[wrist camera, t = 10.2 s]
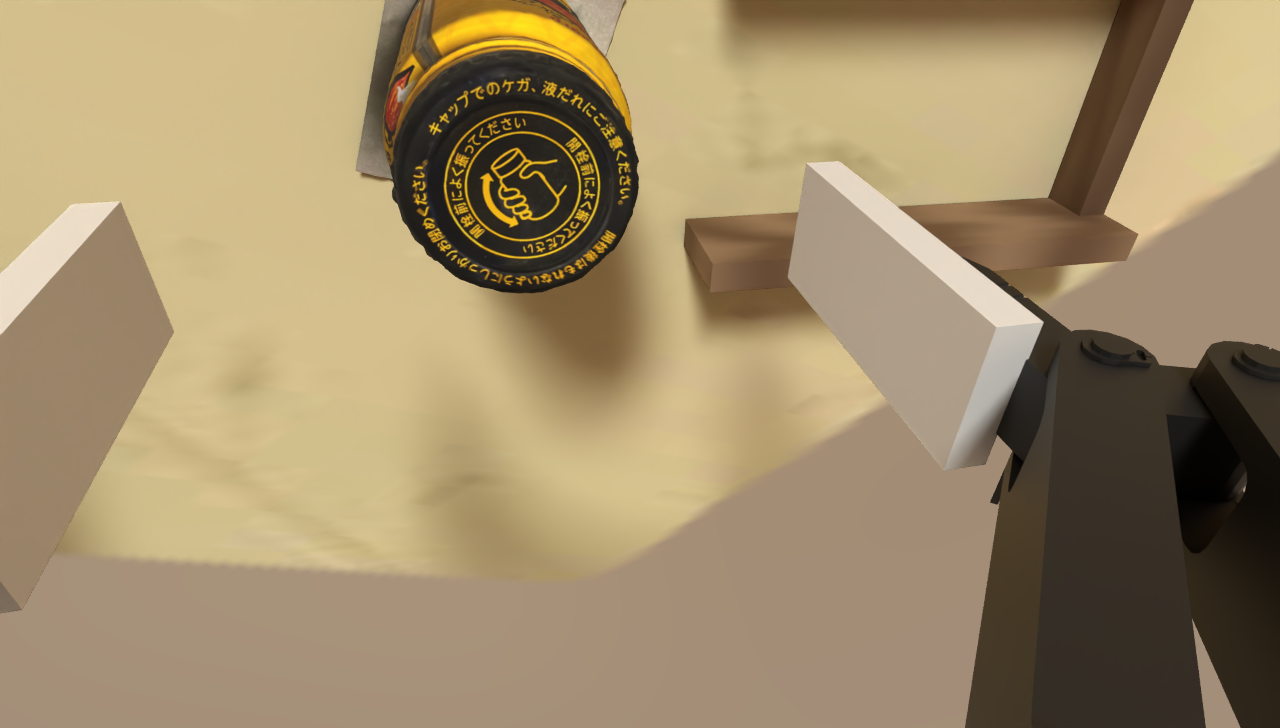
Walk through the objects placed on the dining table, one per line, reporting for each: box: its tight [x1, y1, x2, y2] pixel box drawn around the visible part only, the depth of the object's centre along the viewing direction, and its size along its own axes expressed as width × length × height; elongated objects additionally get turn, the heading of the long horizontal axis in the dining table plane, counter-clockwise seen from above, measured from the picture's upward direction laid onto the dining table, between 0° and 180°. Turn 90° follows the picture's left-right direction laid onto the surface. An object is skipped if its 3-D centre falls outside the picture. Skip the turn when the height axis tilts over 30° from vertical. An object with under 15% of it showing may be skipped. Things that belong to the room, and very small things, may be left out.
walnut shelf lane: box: [684, 0, 1194, 293], centre depth 26 cm, size 18×13×4 cm
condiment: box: [356, 0, 639, 293], centre depth 20 cm, size 7×8×12 cm
